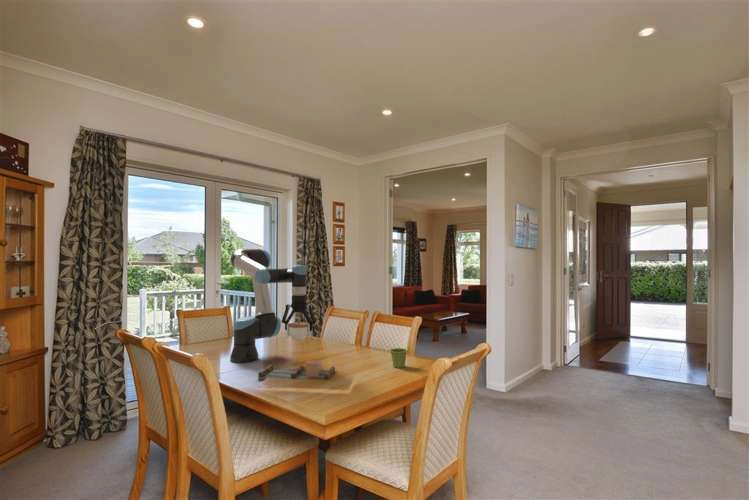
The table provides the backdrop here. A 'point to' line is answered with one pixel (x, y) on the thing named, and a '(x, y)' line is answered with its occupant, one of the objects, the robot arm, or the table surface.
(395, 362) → the plant pot
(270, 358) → the table surface
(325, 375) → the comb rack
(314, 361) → the terracotta block
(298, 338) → the lidded jar
